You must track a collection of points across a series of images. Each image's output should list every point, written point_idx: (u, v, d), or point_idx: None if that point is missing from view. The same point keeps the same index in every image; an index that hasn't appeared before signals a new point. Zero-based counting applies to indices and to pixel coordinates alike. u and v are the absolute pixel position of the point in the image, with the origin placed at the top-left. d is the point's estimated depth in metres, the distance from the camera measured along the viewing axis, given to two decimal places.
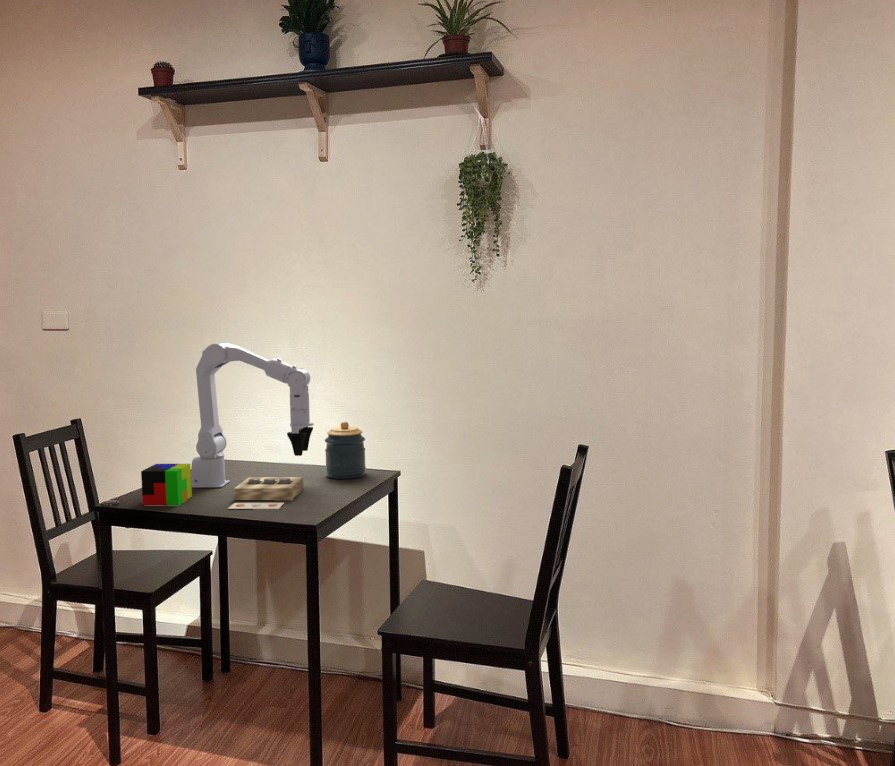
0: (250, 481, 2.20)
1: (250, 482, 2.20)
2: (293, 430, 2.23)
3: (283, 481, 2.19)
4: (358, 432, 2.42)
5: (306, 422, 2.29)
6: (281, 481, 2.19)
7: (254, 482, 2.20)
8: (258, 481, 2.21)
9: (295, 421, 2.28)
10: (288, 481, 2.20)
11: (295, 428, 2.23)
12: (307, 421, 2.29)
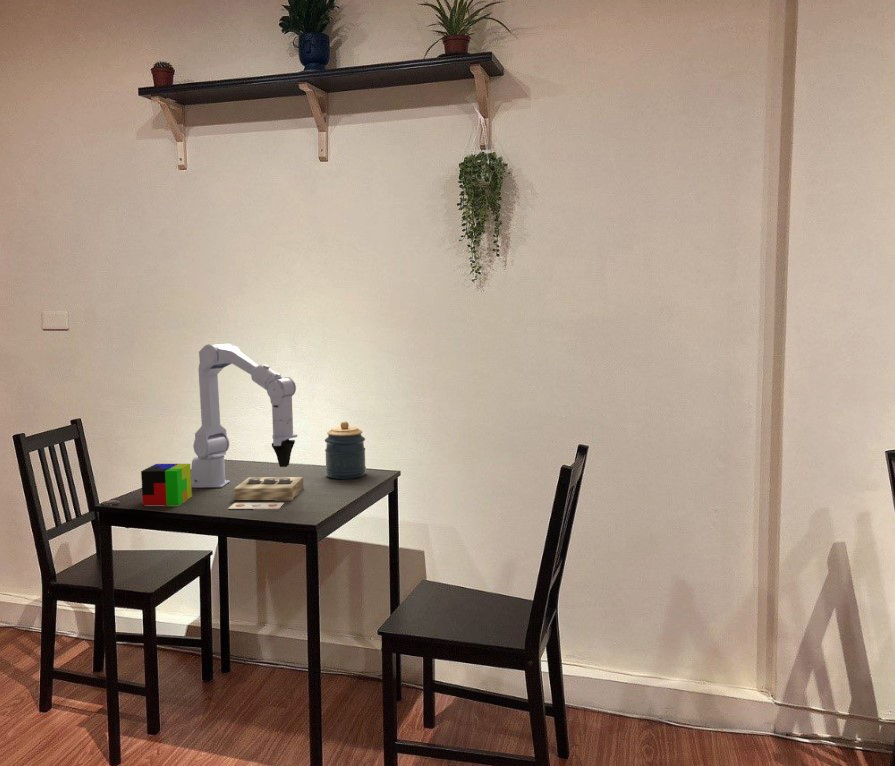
0: (250, 481, 2.20)
1: (250, 482, 2.20)
2: (275, 442, 2.12)
3: (283, 481, 2.19)
4: (358, 432, 2.42)
5: (289, 434, 2.18)
6: (281, 481, 2.19)
7: (254, 482, 2.20)
8: (258, 481, 2.21)
9: (277, 433, 2.17)
10: (288, 481, 2.20)
11: (277, 440, 2.12)
12: (290, 433, 2.18)
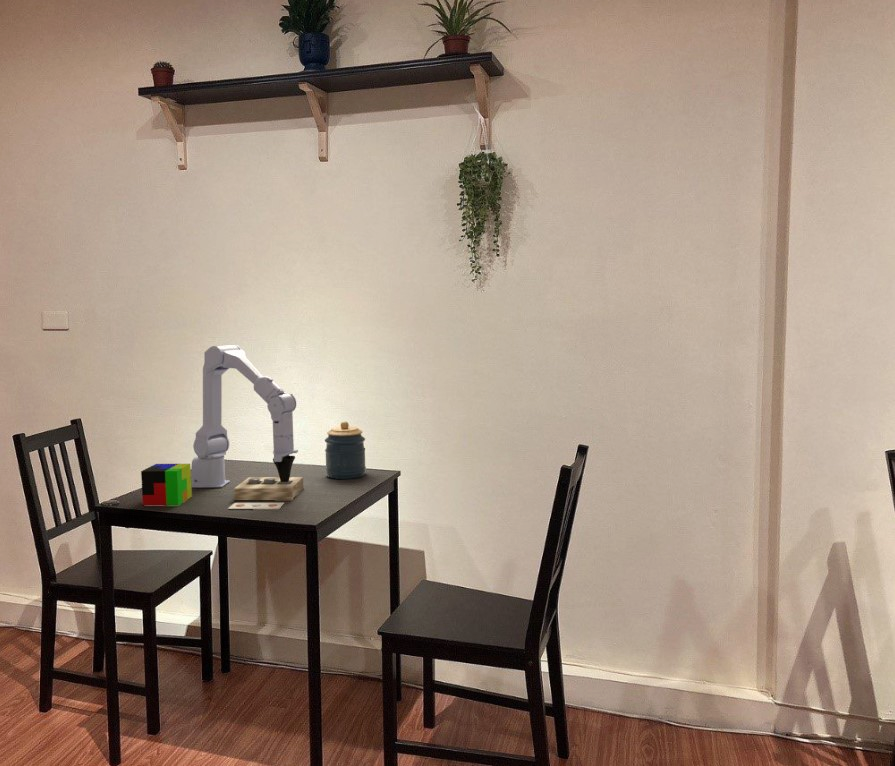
0: (250, 481, 2.20)
1: (250, 482, 2.20)
2: (276, 458, 2.13)
3: (283, 483, 2.19)
4: (358, 432, 2.42)
5: (290, 449, 2.18)
6: (281, 483, 2.19)
7: (254, 482, 2.20)
8: (258, 481, 2.21)
9: (278, 448, 2.17)
10: (288, 483, 2.20)
11: (278, 456, 2.13)
12: (291, 448, 2.19)
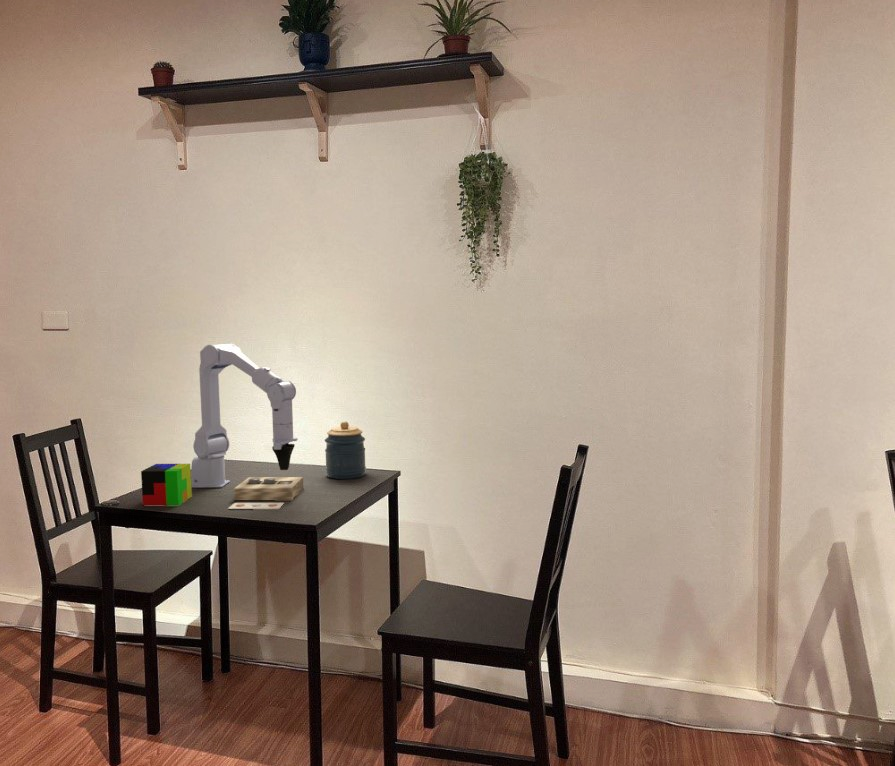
0: (250, 481, 2.20)
1: (250, 482, 2.20)
2: (275, 446, 2.12)
3: None
4: (358, 432, 2.42)
5: (289, 437, 2.18)
6: None
7: (254, 482, 2.20)
8: (258, 481, 2.21)
9: (277, 436, 2.17)
10: None
11: (277, 444, 2.12)
12: (290, 436, 2.18)
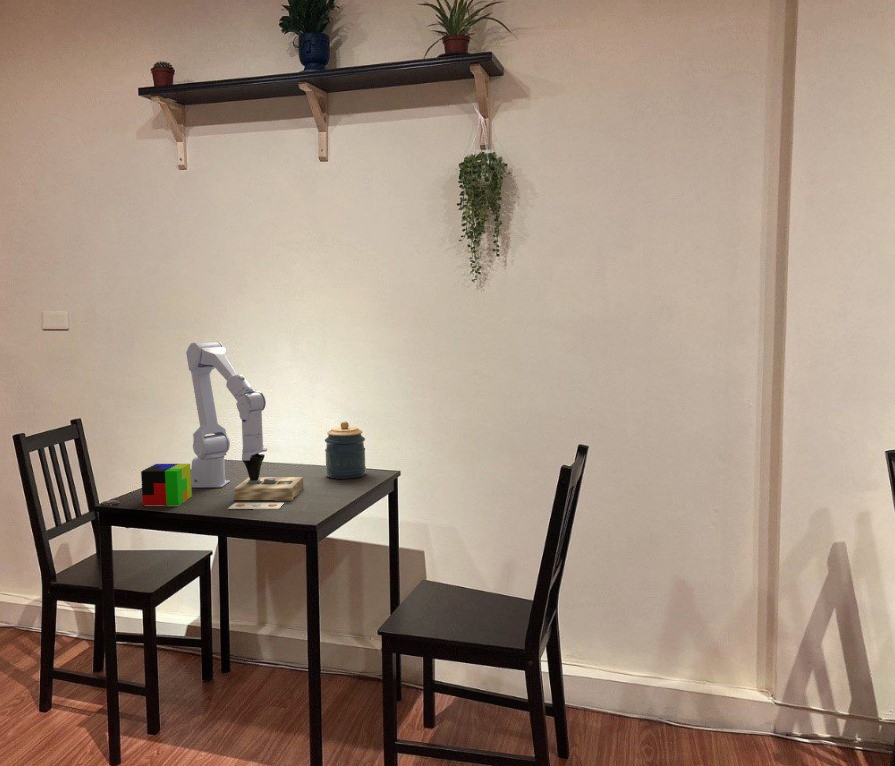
0: (250, 482, 2.20)
1: (250, 483, 2.20)
2: (244, 457, 2.13)
3: None
4: (358, 432, 2.42)
5: (259, 448, 2.18)
6: None
7: (254, 483, 2.20)
8: (258, 482, 2.21)
9: (247, 447, 2.17)
10: None
11: (246, 455, 2.13)
12: (260, 447, 2.19)
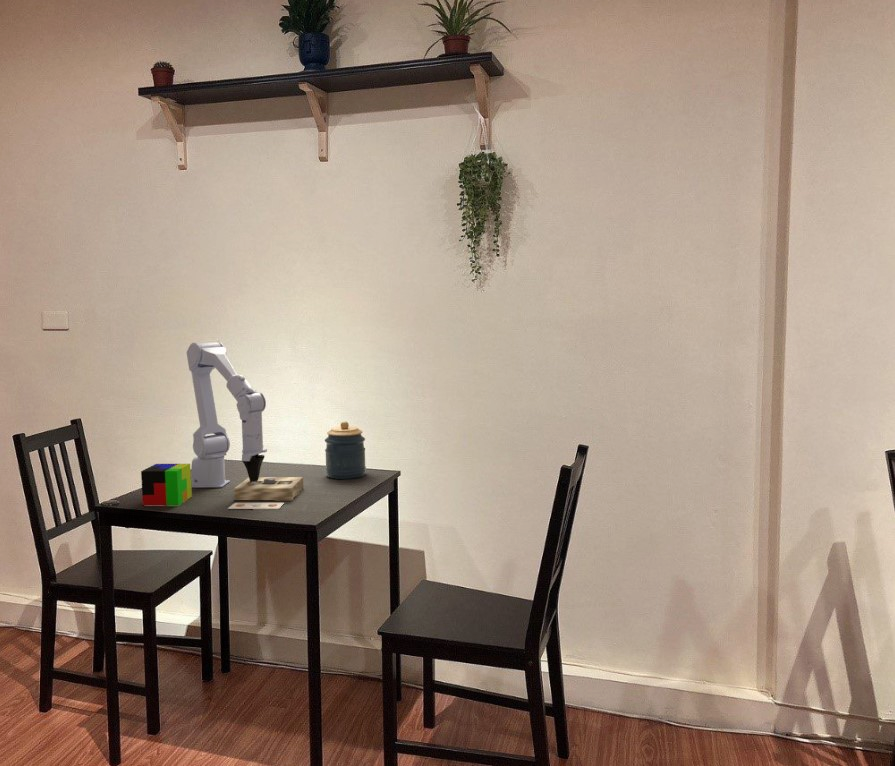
0: None
1: None
2: (244, 458, 2.13)
3: None
4: (358, 432, 2.42)
5: (259, 449, 2.19)
6: None
7: None
8: None
9: (247, 448, 2.18)
10: None
11: (246, 456, 2.13)
12: (260, 447, 2.19)
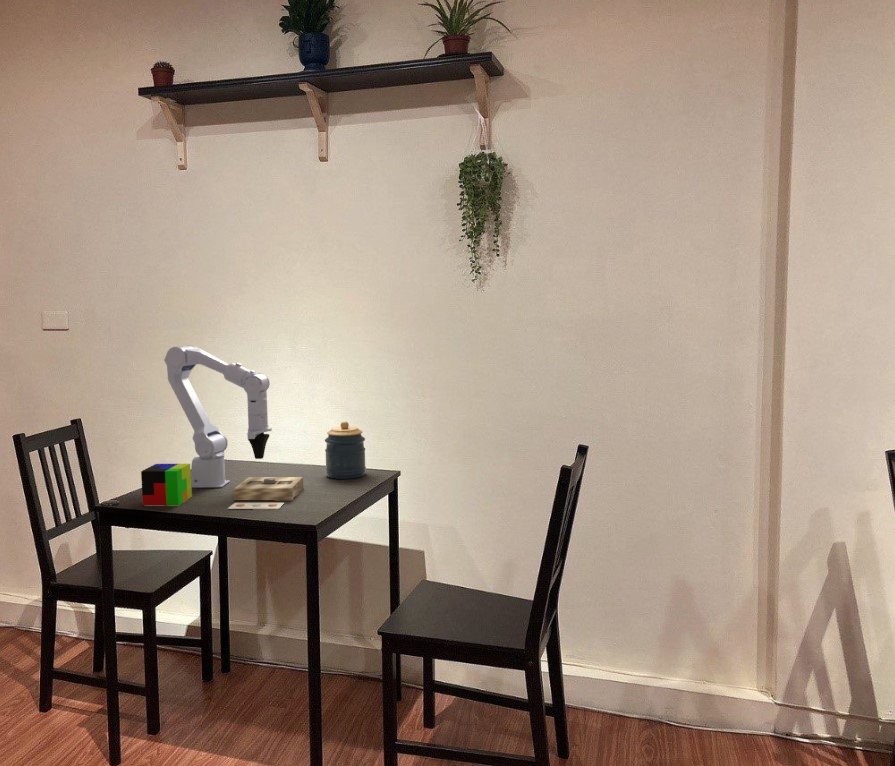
0: None
1: None
2: (249, 435, 2.22)
3: None
4: (358, 432, 2.42)
5: (264, 427, 2.28)
6: None
7: None
8: None
9: (252, 426, 2.27)
10: None
11: (251, 434, 2.22)
12: (265, 426, 2.28)
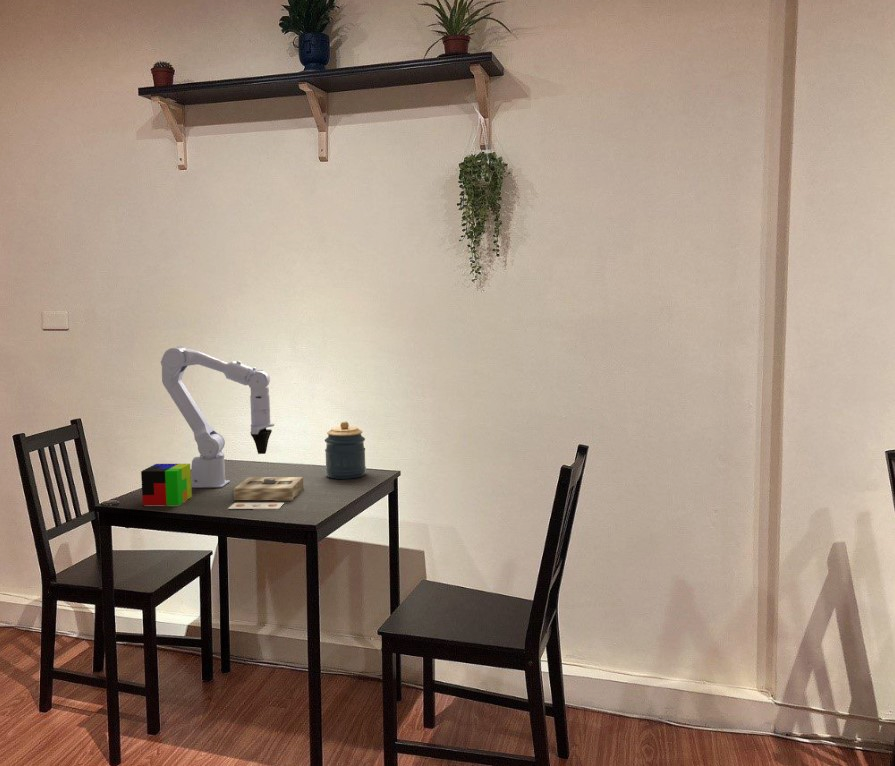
0: None
1: None
2: (252, 431, 2.27)
3: None
4: (358, 432, 2.42)
5: (266, 423, 2.32)
6: None
7: None
8: None
9: (255, 422, 2.31)
10: None
11: (254, 429, 2.27)
12: (267, 422, 2.32)
